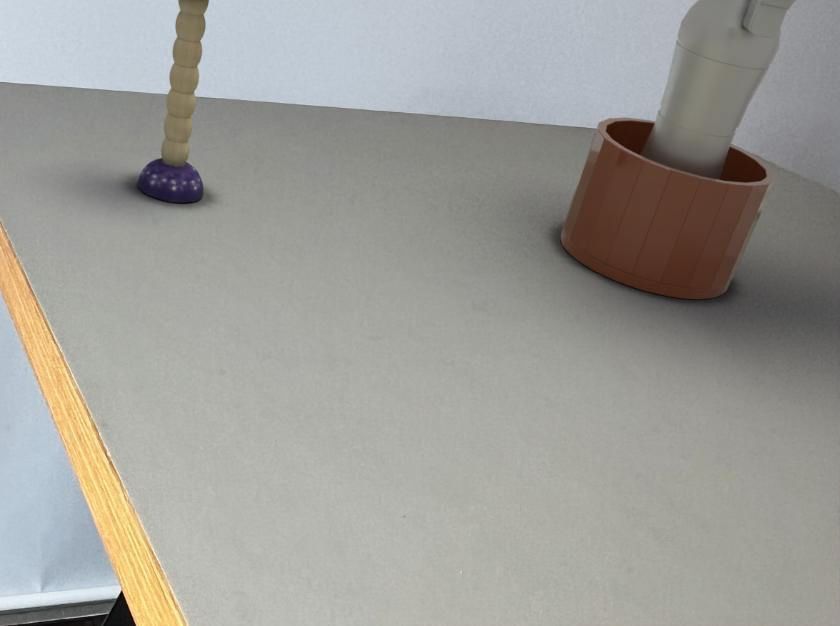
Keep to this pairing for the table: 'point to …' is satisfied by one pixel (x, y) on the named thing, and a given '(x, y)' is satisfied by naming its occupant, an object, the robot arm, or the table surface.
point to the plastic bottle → (708, 87)
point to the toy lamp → (179, 113)
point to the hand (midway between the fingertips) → (736, 19)
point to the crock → (662, 215)
